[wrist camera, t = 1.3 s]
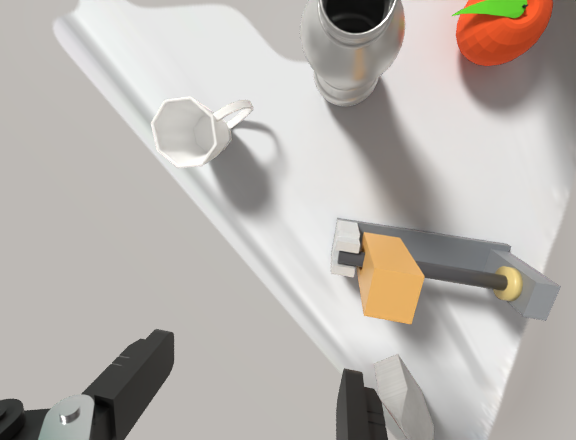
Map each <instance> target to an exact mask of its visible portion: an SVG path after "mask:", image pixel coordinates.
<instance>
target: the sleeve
mask: <svg viewBox="0 0 576 440" xmlns="http://www.w3.org/2000/svg"><path fill="white" fill-rule="evenodd" d="M360 252H365V257H364V262H363V267H359V266H357V268H356V269H357V275H358V282H359V288H360V294H361V300H362V306H363V313H364V316H369V317H374V318H379V319H385V320H390V321H395V322H401V323H406V324H412V320H413V316H414V313H415V309H416V306H417V302H418V299H419V295H420V291H421V288H422V284H423V281H424V277H425V276H424V274H423V273H422V271H421V270H420V268H419V267H418V265H417V264H416V262H415V260H414V259H413V257H412V256H411V254H410V253H409V251H408V249H407V248H406V246H405V245H404V243H403V242H402V240H401V238H399V237H392V236H386V235H379V234H373V233H367V232H364V234H363V239H362V244H361V249H360Z"/></svg>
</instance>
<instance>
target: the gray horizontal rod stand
mask: <svg viewBox="0 0 576 440" xmlns="http://www.w3.org/2000/svg"><path fill="white" fill-rule="evenodd" d="M364 232H367V233H373V234H379V235H386V236H392V237H399V238H401V240H402V242H403V243H404V245H405V246H406V248H407V249H408V251H409V253H410V254H411V256H412V257H413V259H414V260H415V262H416V264H417V265H418V267H419V268H420V270H421V271H422V273H423V274H424V276H425V277H424V278H430V279H436V280H442V281H448V282H453V283H459V284H465V285H471V286H477V287H483V288H489V289H493V290H494V293H495V295H496V296H497V298H499V299H501V300H506V301H507V302H508V303H509V304H510V305H511V306H512V307H513V308H514V309H515V310H516V311H518V312H519V313H520V314H521V315H522V316H523V317H528V318H533V319H539V320H545V321H546V320H547V317H548V315H549V312H550V310H551V308H552V306H553V303H554V301H555V299H556V296H557V294H558V292H559V290H560V287H561V286H559V285H558V284H556V283H555V282H553V281H552V280H550V279H549V278H547V277H546V276H544V275H543V274H541V273H540V272H538V271H537V270H535V269H534V268H532V267H531V266H529V265H528V264H526V263H525V262H523V261H522V260H520V259H519V258H517V257H516V256H514V255H513V254H511V253H510V252H509V251H510V248H511V246H510V245H508V244H504V243H497V242H491V241H484V240H478V239H471V238H464V237H458V236H451V235H445V234H438V233H432V232H425V231H419V230H412V229H405V228H399V227H392V226H386V225H379V224H373V223H366V222H359V221H353V220H346V219H340V218H337V223H336V229H335V235H334V241H333V247H332V253H331V274H336V275H341V276H347V277H353V278H354V273H355V266H359V267H363V262H364V257H365V252H360V249H361V244H362V239H363V234H364Z"/></svg>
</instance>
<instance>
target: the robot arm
mask: <svg viewBox="0 0 576 440" xmlns="http://www.w3.org/2000/svg"><path fill="white" fill-rule="evenodd" d="M173 364H174V334H173V333H172V332H168V331H163V330H159V329H156V330H154V331H153V332H152V333H151V334H150V335H149V336H148V337H147V338H146V340H145V339H139V340H138V341H136V342H134V343H133V344H131V345H129V346H128V347H127V348H126V349H125V350H124V351H123V352H122V353H121V354H120V356H119V357H117V358H116V359H115V360H114V361H113V362H112V364H111V365H109V366H108V367H107V368H106V369H105V371H103V372H102V373H101V374H100V375H99V377H98V378H97V379H96V380H95V381H94V382H93V383H92V384H91V385H90V386H89V387H88V388H87V389H86V390H85V391H84V392H83V393H82V394H81V395H74V396H71V397H68V398H65V399H63V400H61V401H60V402H58V403H57V404H56V405H54V406H53V407H52V408H51V409H40V410H27V411H24V408H23V404H22V402H21V401H20V400H17V399H5V400H0V440H124V439H125V438H126V436H127V435H128V433H129V432H130V431H131V429H132V428H133V426H134V425H135V423H136V422H137V420H138V419H139V417H140V416H141V415H142V413H143V412H144V410H145V409H146V407H147V406H148V405H149V403H150V402H151V400H152V399H153V397H154V396H155V395H156V393H157V392H158V390H159V389H160V387H161V386H162V384H163V383H164V382H165V380H166V379H167V377H168V376H169V374H170V372H171V370H172V367H173ZM336 411H337V412H336V422H337V423H336V437H337V438H336V439H337V440H388V437H387V431H386V428H385V420H384V416H383V408H382V402H381V400H380V398H379V396H378V395H377V393H376V391H375V390H374V389H372V388H367V387H364V382H363V374H362V372H359V371H354V370H349V369H344V370H343V374H342V379H341V384H340V389H339V394H338V399H337V410H336Z"/></svg>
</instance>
